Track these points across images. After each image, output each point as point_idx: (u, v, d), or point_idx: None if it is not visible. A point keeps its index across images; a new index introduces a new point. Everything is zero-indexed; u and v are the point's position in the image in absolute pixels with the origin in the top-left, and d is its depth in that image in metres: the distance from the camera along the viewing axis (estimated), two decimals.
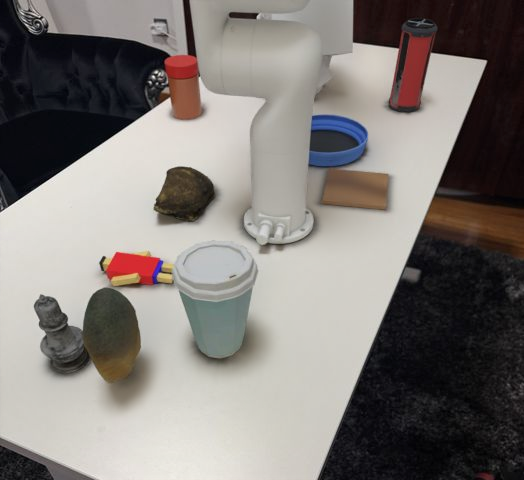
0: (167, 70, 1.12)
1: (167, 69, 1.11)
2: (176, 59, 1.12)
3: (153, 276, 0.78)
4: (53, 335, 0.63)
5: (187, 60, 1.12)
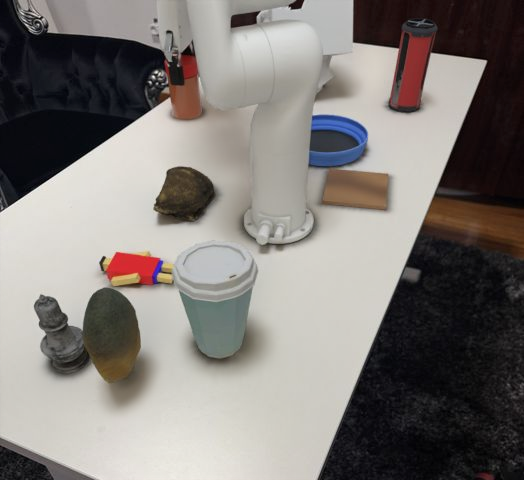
0: (167, 70, 1.12)
1: (167, 69, 1.11)
2: None
3: (153, 276, 0.78)
4: (53, 335, 0.63)
5: (187, 60, 1.12)
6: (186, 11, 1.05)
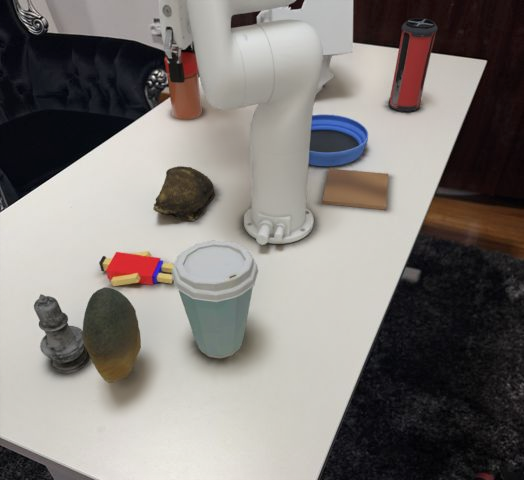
0: None
1: None
2: (185, 58, 1.11)
3: (153, 276, 0.78)
4: (53, 335, 0.63)
5: None
6: None
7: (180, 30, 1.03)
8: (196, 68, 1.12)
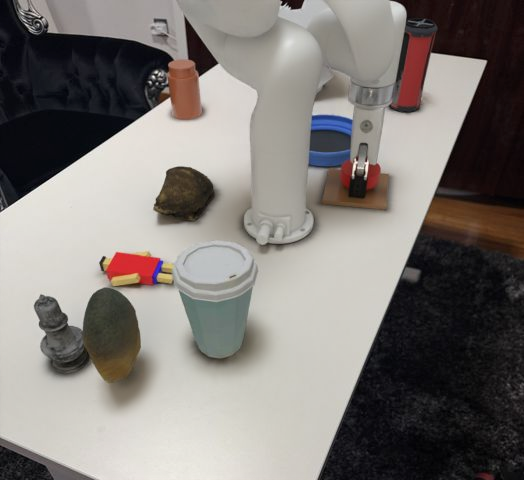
0: None
1: None
2: None
3: (153, 276, 0.78)
4: (53, 335, 0.63)
5: None
6: None
7: (377, 146, 0.85)
8: (378, 179, 0.94)
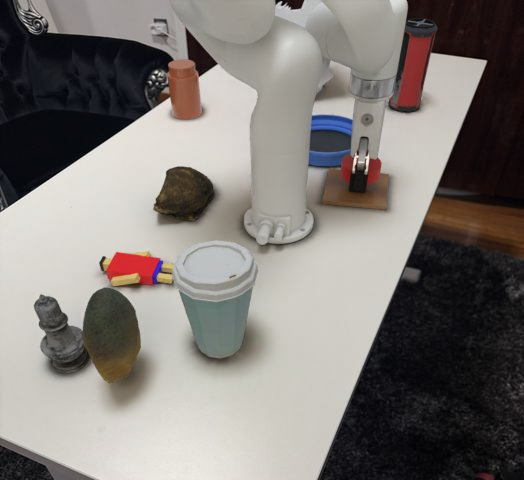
0: None
1: None
2: None
3: (153, 276, 0.78)
4: (53, 335, 0.63)
5: None
6: (353, 110, 0.86)
7: (378, 140, 0.84)
8: (379, 174, 0.93)
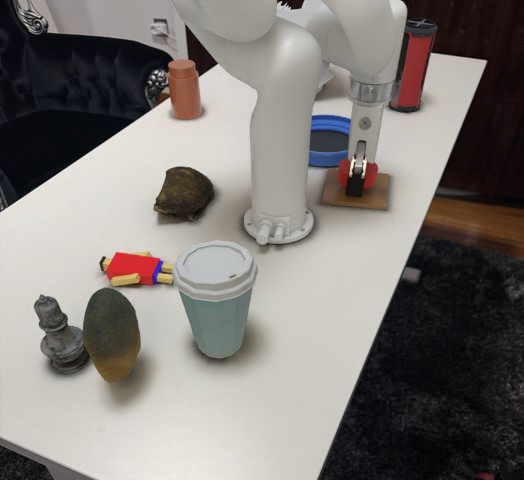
0: None
1: None
2: None
3: (153, 276, 0.78)
4: (53, 335, 0.63)
5: (350, 166, 0.93)
6: None
7: (375, 144, 0.85)
8: None
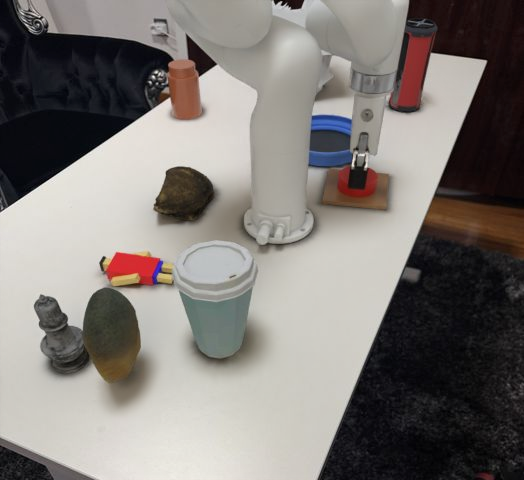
0: None
1: None
2: None
3: (153, 276, 0.78)
4: (53, 335, 0.63)
5: None
6: None
7: (377, 136, 0.84)
8: (375, 187, 0.95)
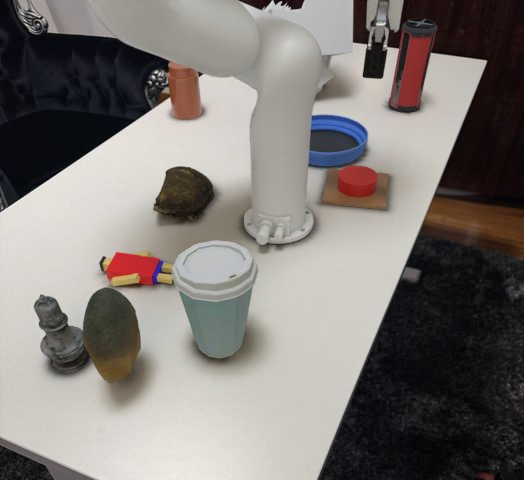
0: None
1: None
2: (364, 177, 0.94)
3: (153, 276, 0.78)
4: (53, 335, 0.63)
5: (350, 175, 0.94)
6: None
7: (400, 3, 0.69)
8: (375, 187, 0.95)
